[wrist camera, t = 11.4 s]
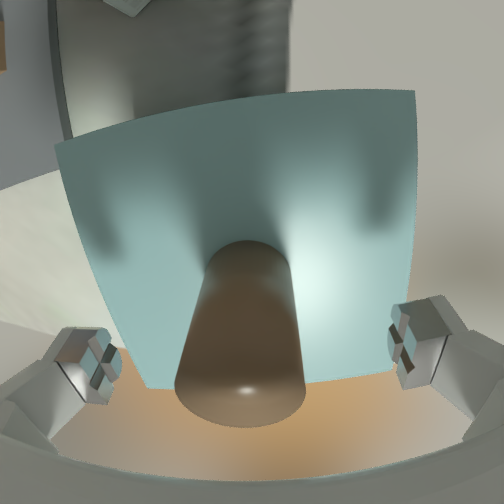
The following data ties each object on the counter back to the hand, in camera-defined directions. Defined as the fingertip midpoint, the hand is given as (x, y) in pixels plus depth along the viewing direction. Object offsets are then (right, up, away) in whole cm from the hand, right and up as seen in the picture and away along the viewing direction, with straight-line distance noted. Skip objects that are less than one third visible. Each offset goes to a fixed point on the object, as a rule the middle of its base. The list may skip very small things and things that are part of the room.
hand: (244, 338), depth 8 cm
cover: (0, +5, +10) cm, 11 cm away
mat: (-20, +14, +6) cm, 25 cm away
